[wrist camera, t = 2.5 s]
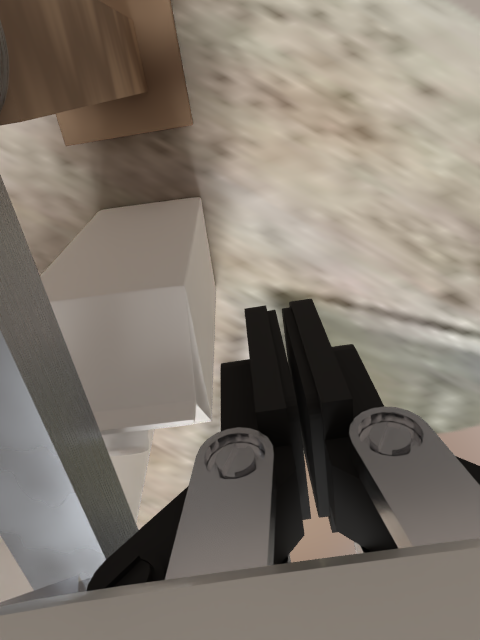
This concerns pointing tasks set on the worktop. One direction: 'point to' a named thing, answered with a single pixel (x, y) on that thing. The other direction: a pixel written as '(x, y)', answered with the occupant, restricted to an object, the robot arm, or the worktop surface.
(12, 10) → the gate post
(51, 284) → the milk carton
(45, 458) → the arm
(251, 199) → the worktop surface
